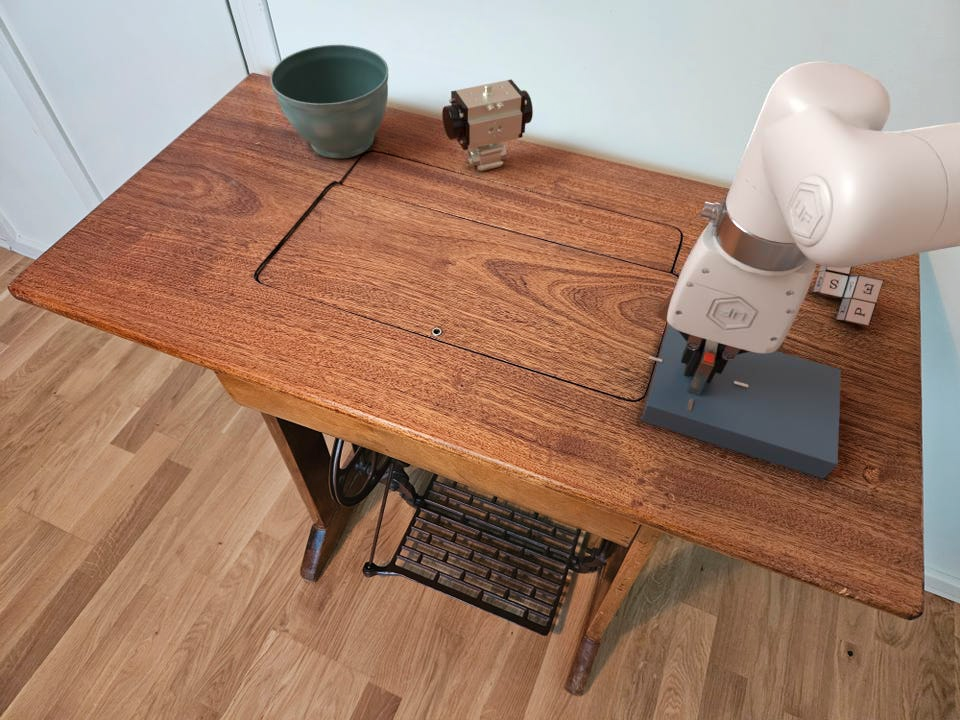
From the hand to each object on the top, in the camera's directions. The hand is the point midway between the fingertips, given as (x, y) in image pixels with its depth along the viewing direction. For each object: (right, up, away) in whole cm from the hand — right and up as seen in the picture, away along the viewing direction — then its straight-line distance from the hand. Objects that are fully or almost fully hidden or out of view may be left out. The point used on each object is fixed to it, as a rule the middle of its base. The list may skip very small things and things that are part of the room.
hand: (699, 368), depth 64 cm
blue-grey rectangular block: (+5, -4, +2) cm, 6 cm away
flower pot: (-44, +34, +31) cm, 63 cm away
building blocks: (+20, +8, +11) cm, 24 cm away
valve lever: (0, 0, 0) cm, 1 cm away
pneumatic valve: (-21, +29, +27) cm, 45 cm away
